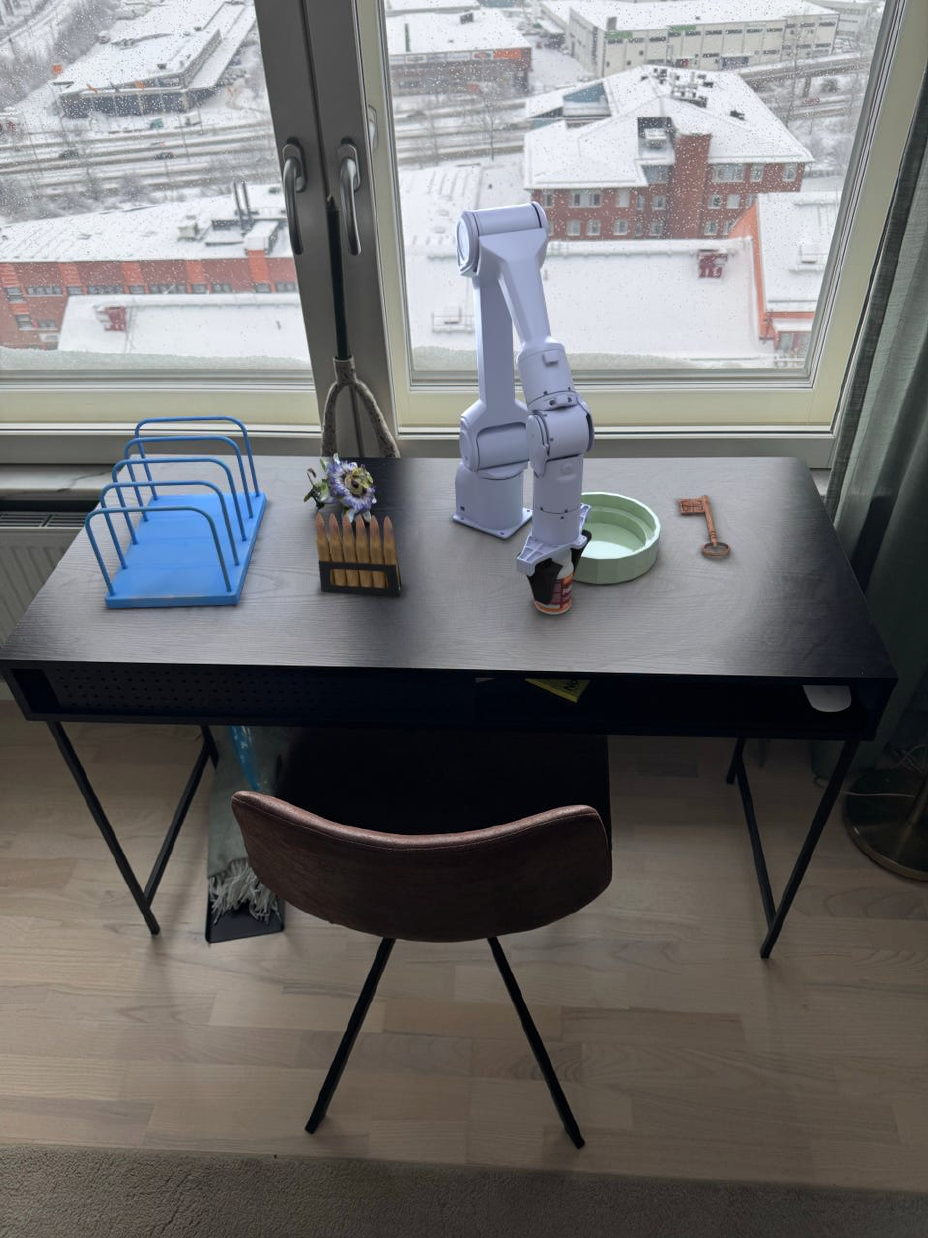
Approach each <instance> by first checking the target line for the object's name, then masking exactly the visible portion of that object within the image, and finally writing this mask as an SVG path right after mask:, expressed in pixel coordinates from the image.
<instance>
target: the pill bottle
mask: <svg viewBox="0 0 928 1238" xmlns="http://www.w3.org/2000/svg"><path fill="white" fill-rule="evenodd" d="M550 558H552V561H553V562H556V563H558V564H561V565H563V567H562V569H561V570H560V572H559V574H558V576H557V579H556V582H555V586H554V592H553V597H552V600H551V603H550V604H549V605H545V604H542V603H540V602H537V601H535V600H534V605H535V607H536V609H537V610H538V611H540V612H542V613H544V614H548V615H554V616H555V615H561V614H563V613H566V612H567V611H568V610H570V608H571V606H572V599H573V598H572V597H573V596H572V595H573V580H574V579H573V570H574V568H573V564H572V562H571V550H570V549H567V550H565V551H563V552H561V553H559V554H556V555H554V556H552V557H550Z"/></svg>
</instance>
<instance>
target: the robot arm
mask: <svg viewBox="0 0 928 1238" xmlns="http://www.w3.org/2000/svg"><path fill="white" fill-rule="evenodd" d="M549 234H550V232H549V223H548V217H547V215H546V211H545V210H544V209H543V207H542V206H541V205H540V204H539V203H538V202H537V201H531V202H528V203H523V204H515V205H508V206H497V207H490V208H483V209H475V210H469V209H464V210H462V211H461V212H460V214H459V216H458V217H457V220H456V224H455V228H454V235H455V249H456V264H457V268H458V274H459V276H461V277H466V278H469V279H470V280H471V281H470V282H471V286H472V293H473V310H474V325H475V327H474V328H475V329H474V330H475V343H476V361H477V362H476V363H477V380H478V397H479V398H478V399H477V401H475V402H474V403H473V404H471V406H469V407H468V408H467V409H466V410H464V412H462V414H461V415H460V421H459V422H460V423H459V424H460V425H459V427H460V430H459V435H458V445H459V452H460V456H461V460H462V461H461V462H460V464H459V465H458V467H457V470H456V472H455V479H454V490H455V513H456V514H454V516H453V517H452V519H453V521H454V522H457V523H461V524H463V525H466V526H468V527H471V528H474V529H476V530H479V531H482V532H485V533H488V534H490V535H493V536H495V537H498V538H501V539H504V540H507V539H509V538H510V537H511V536H512V535H514V534H515V533H516V532H517V531H518V530H520V528H521V527H522V526H524V525H525V524H526V523H527V522H528V521H529V520H531V527H530V530H529V532H528V534H527V535H528V536H527V538H526V540H525V544H524V546H523V548H522V550H521V551H520V552H519V553H518V554H517V556H516V572H518V573H521V574H523V575H524V576H525V577H526V578H527V581H528V584H529V586H530V590H531V593H532V596H533V600H534V602H535V601H537V602H540V603H542V604H545V605H549V604H550V603H551V600H552V597H553V592H554V586H555V582H556V579H557V576H558V574H559V572H560V570H561V569H562V567H563V565H561V564H558V563H556V562H553V561H552V558H550V557H552V556H554V555H556V554H559V553H561V552H563V551H565V550H567V549H570V550H571V562H572V564H573V568H574V570H573V577H574V574H575V571H576V568H577V565H578V562H579V559H580V557H581V555H582V553H583V551H584V549H585V547H586V546H587V544H588V543H589V542H590V540H591V539H592V534H591V532H589V531H587V530H584V529H583V527H584V524H585V522H588V521H589V520H590V519H591V508H592V507H591V506H589V505H586V504H583V503H581V493H583V491H582V490H583V477H584V476H583V475H584V474H583V473H584V457H585V453H589V452H591V451H592V450H593V448H594V444H595V436H596V435H595V432H596V431H595V423H594V420H593V415H592V412H591V409H590V407H589V406H588V404H587V403H586V402H585V400H584V398H583V394H582V393H581V392H577V391H576V388H575V383H574V380H573V376H572V372H571V368H570V363H569V361H568V356H567V353H566V349H565V346H564V344H562V343H561V342H560V341H558V340H556V339H555V338H554V337H552V333H551V326H550V320H549V315H548V314H549V313H548V308H547V302H546V297H545V291H544V285H543V279H542V274H541V270H542V268H543V266H544V263H545V261H546V256H547V250H548V246H549V240H550V239H549V237H550V235H549ZM513 327H514V328H515V332H516V335H517V337H518V339H519V343H520V345H521V348H520V350H519V352H518V353H517V355H516V357H514V352H515V351H514V330H513V329H514V328H513ZM515 365H516V369H517V374H518V376H519V381H520V385H521V388H522V393H523V398H524V400H525V403H524V402H523V401H521V400H519V399H517V398H516V384H515V383H516V382H515ZM529 466H530V467H531V468H532V470H533V473H532V474H533V475H532V476H533V477H532V509H530V508H527V507H524V479H525V478H524V477H525V476H524V473H525V472H524V471H525V470H527V469H528V468H529Z"/></svg>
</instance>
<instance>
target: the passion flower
mask: <svg viewBox="0 0 928 1238" xmlns="http://www.w3.org/2000/svg"><path fill="white" fill-rule="evenodd" d="M331 461H332V463H331V462H330V461H329V462H328V461H327V460H326V458H320V459H319V463H320V465H321V467H322V470H323V471H324V474H325V476H326V478H321V481H317V482H313V479H312V478H311V475H310V473H311V474H312V477H313V478H314V479H317V473H316V472H315V470H314V468H312V467H310V468H309V467H308V469H307V471H306V475H307V477H308V479H309V482H310V484H311V486H312V488H311V489H310V490H309V492H308V493H306V495H305V496H304V498H303V502H304V503H306V502H307V501H308V500H310V499H311V498H313V500H314V502H315V509H314V510H315V516H317V513H320V512H319V511H320V510H321V509H323V508H324V507H325V505H334V504H337V503H339V504H341V505H342V507H343V509H342V512H341V515H340V516H341V517H340V520H341V522H343V517H344V515H345V514H346V515H347V516H348V518H349V520H350V523H351V524H353V525H355V526H356V521H357V517H358V515H360V516H361V517H362V519H363V522H364V523H367V524H370V520H371V517H372V515H371V512H370V510H371V508H372V505H376V504H377V499H376V497H375V492H376V489H375V488H376V487H377V485H374V484H373V483H374V480H373V478H372V476H371V474H370V472H369V471H367V470H366V466H365V464H363V463H362V464H361V465H359V467H358V463H357V462H352V461H351V462H349V459H348V460H345V461H344V460H342V461H341V460H340V458H339V454H338V453H334V454H333V457H332V460H331Z"/></svg>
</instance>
